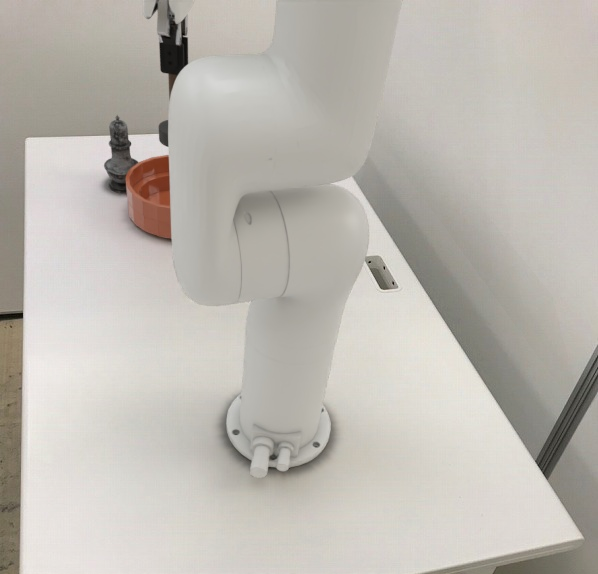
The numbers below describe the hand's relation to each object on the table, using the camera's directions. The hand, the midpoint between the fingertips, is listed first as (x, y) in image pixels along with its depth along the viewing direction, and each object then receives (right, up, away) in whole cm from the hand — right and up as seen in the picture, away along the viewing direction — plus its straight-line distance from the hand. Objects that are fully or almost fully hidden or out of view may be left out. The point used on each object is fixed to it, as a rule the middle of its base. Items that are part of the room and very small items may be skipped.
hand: (174, 69), depth 89 cm
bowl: (-2, -15, +17) cm, 23 cm away
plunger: (-1, -7, +8) cm, 10 cm away
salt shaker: (-13, -9, +21) cm, 26 cm away
